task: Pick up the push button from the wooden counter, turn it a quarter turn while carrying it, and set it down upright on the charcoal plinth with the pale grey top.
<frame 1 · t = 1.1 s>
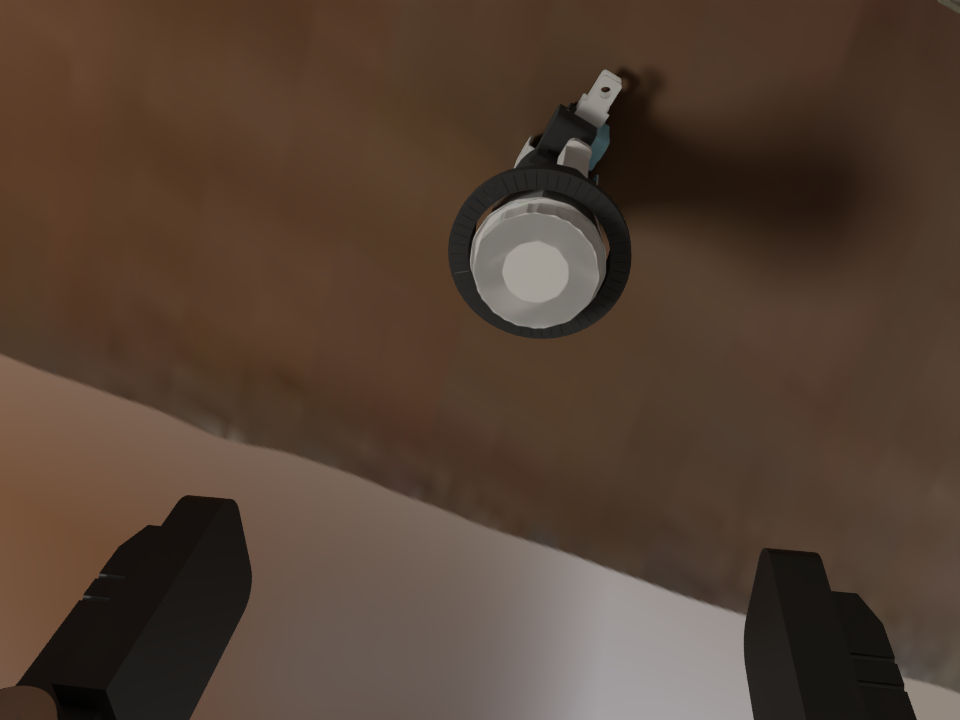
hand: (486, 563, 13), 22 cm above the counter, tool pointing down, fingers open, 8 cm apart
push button: (567, 149, 31), on the counter
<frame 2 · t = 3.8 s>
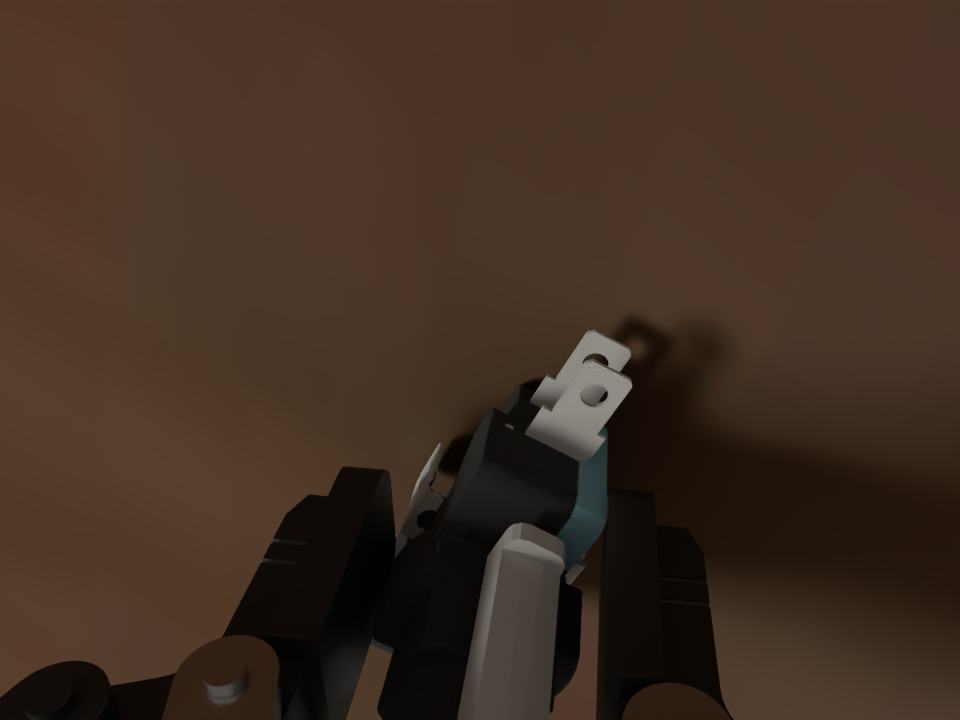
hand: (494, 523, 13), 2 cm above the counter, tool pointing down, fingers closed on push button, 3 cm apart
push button: (520, 457, 15), on the counter, touching gripper
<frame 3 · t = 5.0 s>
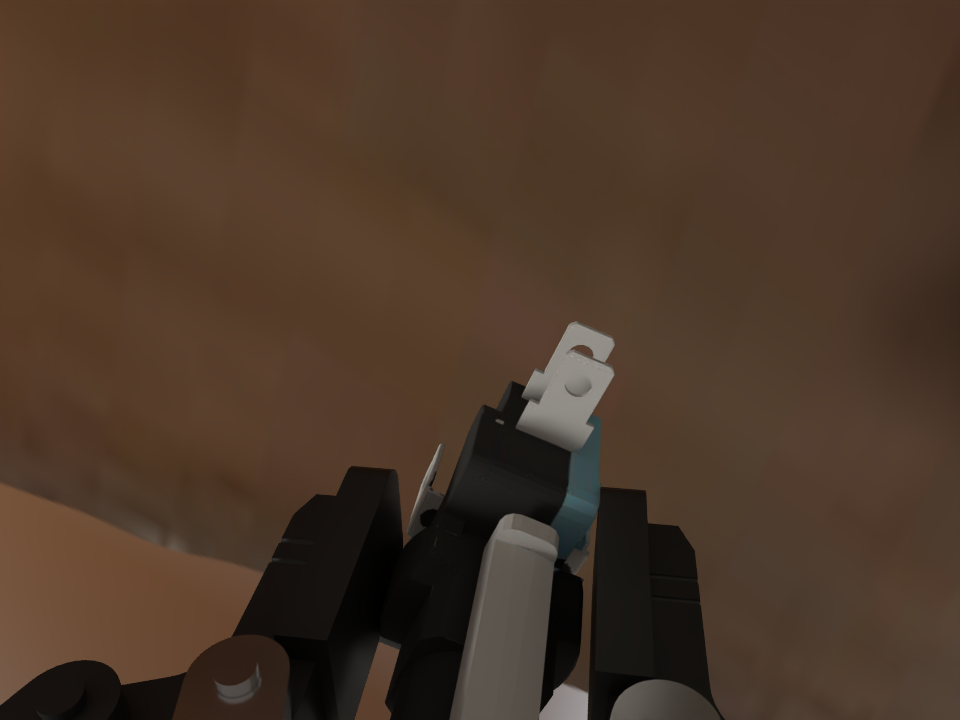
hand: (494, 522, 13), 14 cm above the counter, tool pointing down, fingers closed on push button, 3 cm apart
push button: (521, 453, 15), point 11 cm above the counter, touching gripper
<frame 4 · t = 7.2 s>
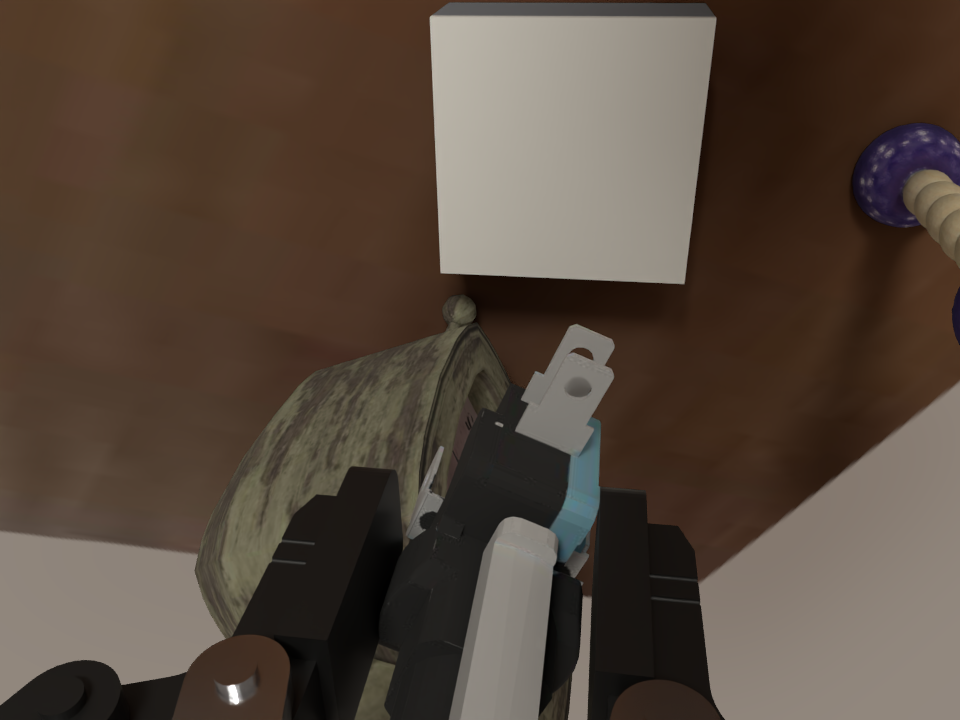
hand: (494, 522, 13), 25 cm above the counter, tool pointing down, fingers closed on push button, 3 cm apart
tabletop clock: (454, 403, 43), on the counter
plinth: (569, 131, 35), on the counter
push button: (521, 456, 15), point 23 cm above the counter, touching gripper
toy lamp: (904, 164, 34), on the counter
when the fingers open (7 cm above the counter, at t = 9.8 s): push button moves 2 cm, resting on plinth.
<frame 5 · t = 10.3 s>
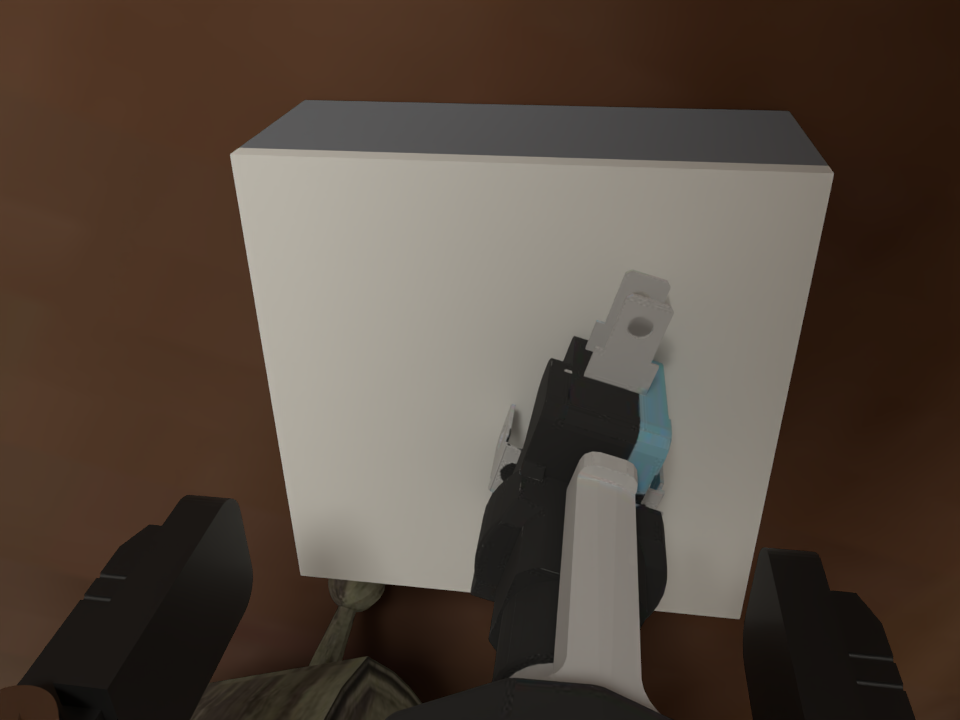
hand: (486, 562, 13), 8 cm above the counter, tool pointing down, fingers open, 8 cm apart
tabletop clock: (364, 684, 28), on the counter
plinth: (532, 319, 20), on the counter
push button: (589, 407, 16), point 4 cm above the counter, touching plinth
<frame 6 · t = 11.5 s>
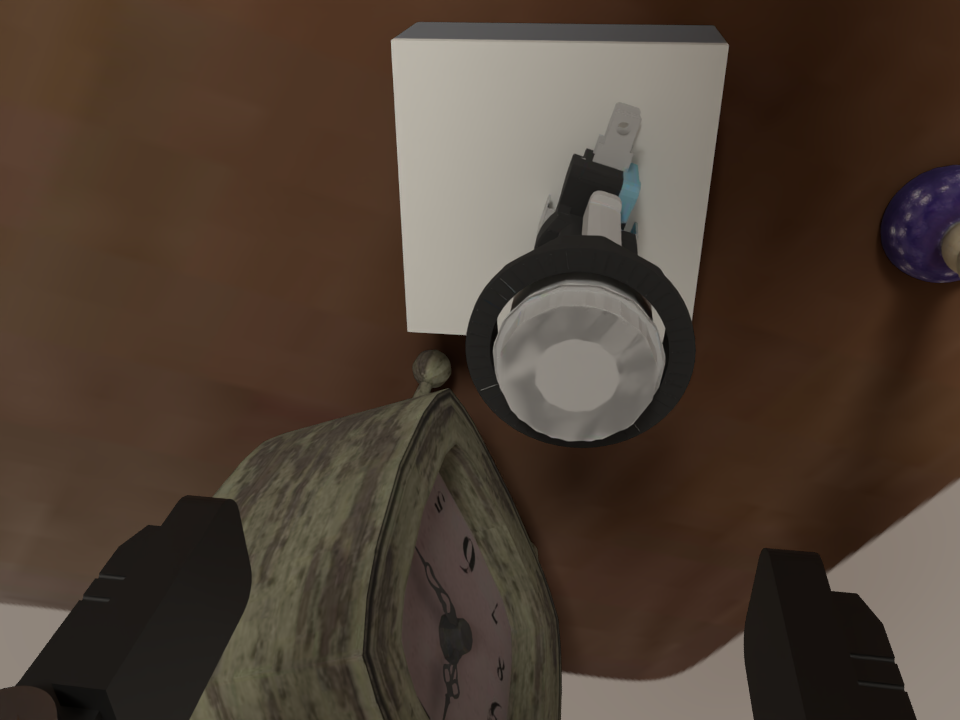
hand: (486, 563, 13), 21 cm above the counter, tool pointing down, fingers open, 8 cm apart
tabletop clock: (428, 466, 38), on the counter
plinth: (556, 169, 30), on the counter
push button: (594, 200, 27), point 4 cm above the counter, touching plinth
toy lamp: (940, 211, 29), on the counter
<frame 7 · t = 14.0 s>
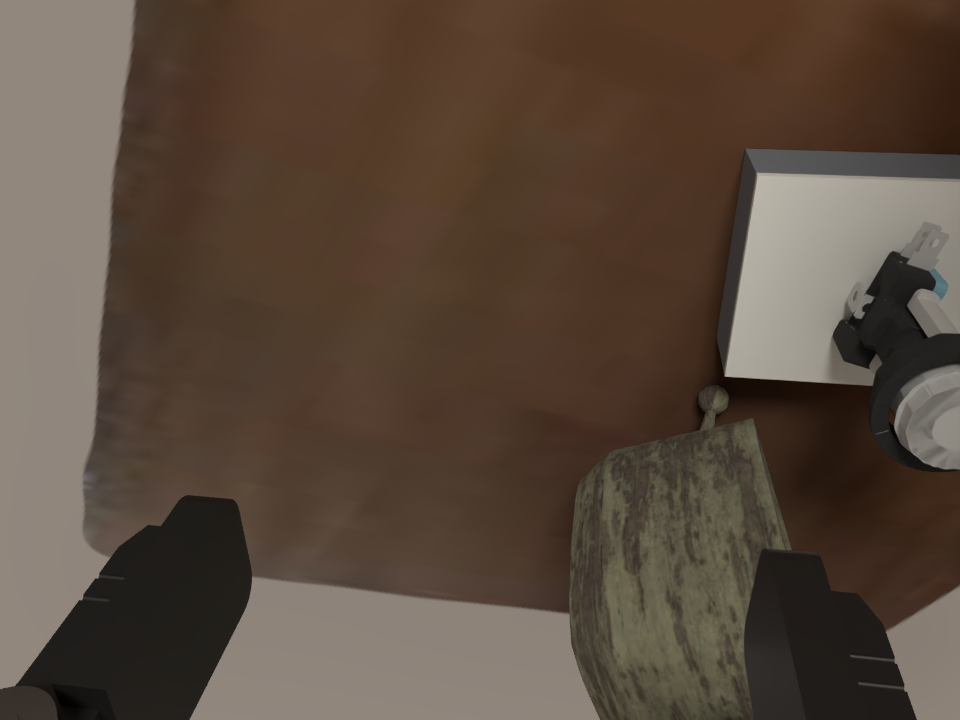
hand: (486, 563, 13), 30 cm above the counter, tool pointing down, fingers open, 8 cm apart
tabletop clock: (687, 473, 48), on the counter
plinth: (835, 253, 40), on the counter
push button: (888, 285, 37), point 4 cm above the counter, touching plinth
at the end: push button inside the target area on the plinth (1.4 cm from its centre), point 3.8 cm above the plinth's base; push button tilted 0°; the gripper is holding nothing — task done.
